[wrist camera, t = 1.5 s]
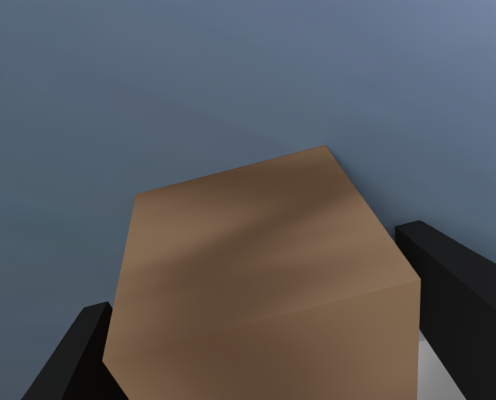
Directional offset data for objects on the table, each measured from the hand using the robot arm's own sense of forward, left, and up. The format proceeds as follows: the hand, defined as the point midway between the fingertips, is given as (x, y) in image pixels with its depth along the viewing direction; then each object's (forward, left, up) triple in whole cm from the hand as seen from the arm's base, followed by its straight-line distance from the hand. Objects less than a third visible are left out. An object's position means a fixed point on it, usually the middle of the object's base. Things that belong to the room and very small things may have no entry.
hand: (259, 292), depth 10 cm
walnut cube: (0, 0, -2) cm, 2 cm away
